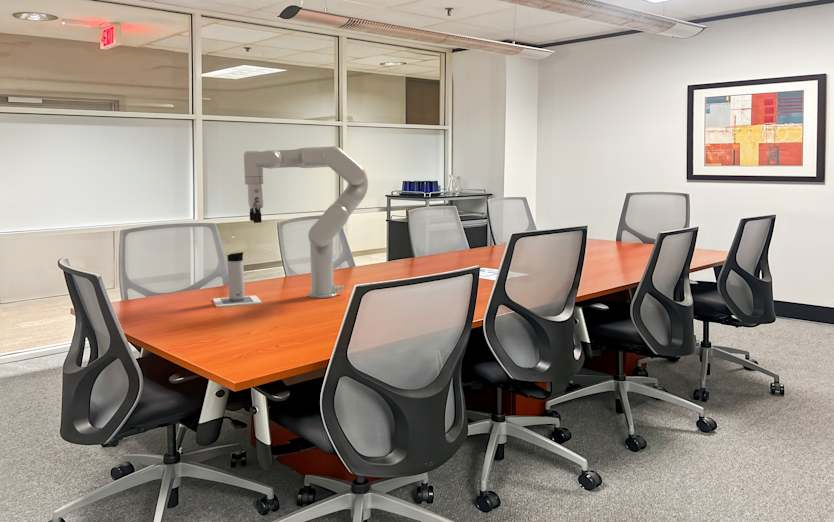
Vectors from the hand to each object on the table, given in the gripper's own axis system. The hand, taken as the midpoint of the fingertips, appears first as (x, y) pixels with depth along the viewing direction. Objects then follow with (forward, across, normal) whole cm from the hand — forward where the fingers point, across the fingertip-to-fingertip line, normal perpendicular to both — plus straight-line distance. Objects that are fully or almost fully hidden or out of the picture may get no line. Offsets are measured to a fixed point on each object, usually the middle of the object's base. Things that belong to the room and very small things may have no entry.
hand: (255, 221), depth 306 cm
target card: (+32, -7, +10) cm, 35 cm away
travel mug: (+32, -7, +10) cm, 34 cm away
